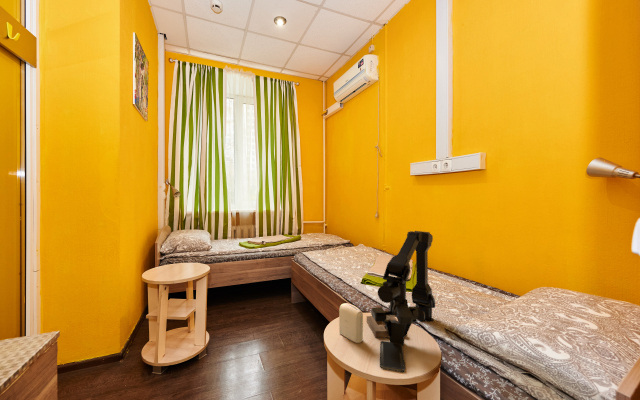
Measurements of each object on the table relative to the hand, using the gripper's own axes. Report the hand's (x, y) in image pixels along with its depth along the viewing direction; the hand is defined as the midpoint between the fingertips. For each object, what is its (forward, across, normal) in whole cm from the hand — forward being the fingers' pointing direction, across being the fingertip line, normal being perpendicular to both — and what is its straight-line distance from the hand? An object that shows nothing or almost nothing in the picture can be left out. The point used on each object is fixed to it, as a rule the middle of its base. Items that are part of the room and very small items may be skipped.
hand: (397, 336), depth 94 cm
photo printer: (+3, -16, +6) cm, 18 cm away
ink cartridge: (+3, 0, 0) cm, 3 cm away
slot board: (+2, -1, +10) cm, 11 cm away
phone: (+3, -5, -8) cm, 10 cm away
